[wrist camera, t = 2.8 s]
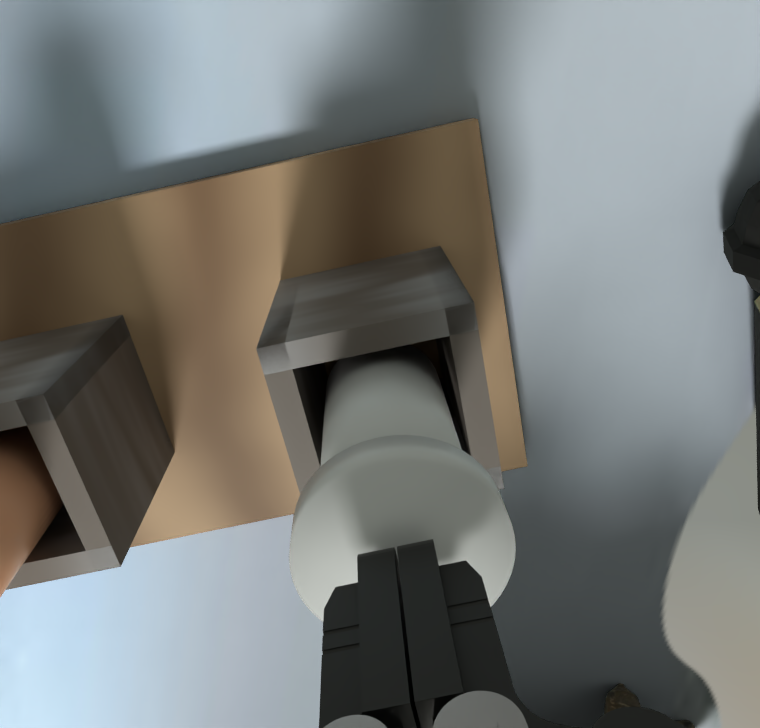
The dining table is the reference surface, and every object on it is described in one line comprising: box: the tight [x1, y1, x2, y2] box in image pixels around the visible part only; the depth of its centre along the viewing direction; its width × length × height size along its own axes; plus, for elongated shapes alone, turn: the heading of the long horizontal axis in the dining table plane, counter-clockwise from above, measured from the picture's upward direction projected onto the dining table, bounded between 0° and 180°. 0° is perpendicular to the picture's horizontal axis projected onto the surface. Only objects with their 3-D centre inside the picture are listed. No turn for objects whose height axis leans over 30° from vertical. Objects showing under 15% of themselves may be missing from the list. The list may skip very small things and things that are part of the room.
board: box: [0, 118, 527, 590], centre depth 23 cm, size 22×14×8 cm, turn 102°
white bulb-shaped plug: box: [289, 345, 516, 622], centre depth 17 cm, size 5×5×8 cm
